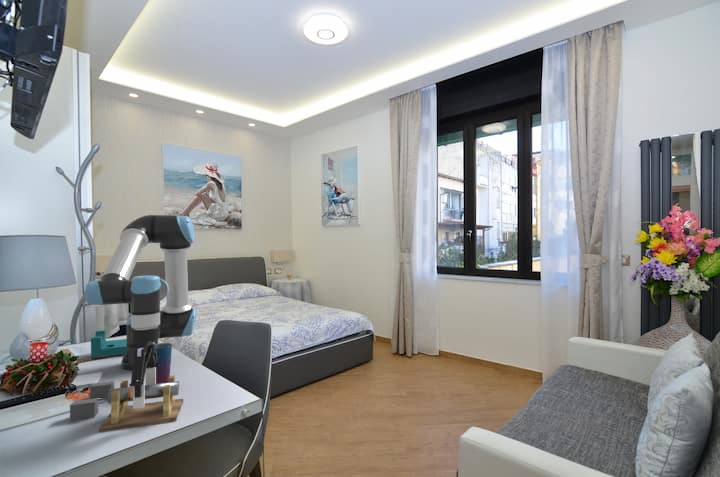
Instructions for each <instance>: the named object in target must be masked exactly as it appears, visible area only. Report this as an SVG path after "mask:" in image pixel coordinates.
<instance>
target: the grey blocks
mask: <svg viewBox="0 0 720 477" xmlns="http://www.w3.org/2000/svg"><path fill="white" fill-rule="evenodd" d="M110 389H115V380H111V381H101V382H100V381H99V382H98V383H93V384H92V385H91V386H90V387H89V398H88V399H87V398H86V399H80V400H74V401H73V402H72V403H71V404H70V405H69V421H70V422H71V421H78V420H84V419H93V418H95V417H96V416H97V415H98V414H99V399H98V398H105V399H107V397H108V392H109V390H110Z"/></svg>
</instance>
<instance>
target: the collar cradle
mask: <svg viewBox="0 0 720 477" xmlns="http://www.w3.org/2000/svg"><path fill="white" fill-rule="evenodd" d="M168 382H176V375H175V374H174V375H170V376H169V378H168ZM124 387H129V380H122V381H121V382H120V383H119V388H124ZM183 404H184V398H178V399H176V395H175V396H170V384H168V385H164V387H163V397H162V400H161V401H154V402H147V403H146V402H145V406H144V408H136V409H133V404H131V405H129V401H127V402H120V390H116V391H113V392H112V393H111V406H110V414H109V415H108V416H107V418H106V419H105V420H104V421H103V423H102V424H101V425H100V427H99V428H98V430H99V431H98V432H99V433H100V432H102V433H103V432H108V431H115V430H121V429H122V430H123V429H128V428H135V427H136V428H137V427H142V426H143V427H144V426H148V425H149V426H150V425H157V424H163V423H169V422H170V423H171V422H176V421H177V420H178V417H179V415H180V412H181V409H182V406H183Z"/></svg>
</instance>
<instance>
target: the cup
mask: <svg viewBox="0 0 720 477" xmlns="http://www.w3.org/2000/svg"><path fill="white" fill-rule="evenodd" d="M172 349H173V343H171V342H158V344H156V352H157V360H158V362H157V363H159V366H157V367H156V384H159V383H167V382H168V378H169V376H171V364H172V363H171V362H172V352H173V351H172Z"/></svg>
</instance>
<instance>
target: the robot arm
mask: <svg viewBox="0 0 720 477" xmlns="http://www.w3.org/2000/svg"><path fill="white" fill-rule="evenodd" d="M195 237H196V236H195V228H194V224H193V221H192V218H191V217H189V215H188V216H187V215H179V214H174V215H173V214H167V215H166V214H165V215H164V214H160V215H159V214H147V215H143V216H140V217H138V218H136V219H134V220H133V221H131V222H129V224H127V225H126V226H125V227H124V228H123V230H122V231H121V233H120V235H119V241H120V242H119V244H118V245H117V247H116V248H115V251H114V253H113V254H112V257H111V259H110V261H109V263H108V264H107V266H106V269H105V270H104V272H103V274H102V276H101V277H100V279H99V280H93V281H92V280H91V281H89V282H88V283H87V284H86V285H85V287H84V288H85V289H84V300H85V302H86V303H87V304H88V305H91V306H93V305H94V306H97V305H98V306H106V305H121V304H123V305H124V304H131V305H130V310H131V311H130V312H129V313H128V315H127V317H126V324H125V325H126V339H127V346H126V351H125V353H124V354H123V356H122V359H121V364H120V365H121V366H120V367H121V369H123V370H130V371H132V372H131V378H130V379H131V380H130V383H128V387H132V386H133V401H132V405H133V409H136V408H144V406H145V403H146V401H145V400H146V399H145V385H150V384H156V367H157V366H159V363H157V362H158V360H157V352H156V344H159V339H165V338H167V339H168V338H169V339H170V338H183V337H189V336H191V335H192V334H193V333H194V331H195V330H194V329H195V326H196V325H195V324H196V318H197V309H195V308H193V304H192V303H191V302H189V279H188V278H189V274H188V250H189V249H190V248H192V247H191V245H192V244H194V242H195V240H196V239H195ZM148 244H159V249H161V250H162V251H163V252H164V256H163V257H164V276H165V278H164V279H162V278H161V277H160V276H158V275H154V274H153V275H152V274H151V275H137V276H134V277H132V278H131V276H132V273H133V271H134V269H135V266H136V264H137V262H138V260H139V257H140V255H141V252H142V251H143V249H144V248H146V247H147V246H148ZM130 278H131V279H130ZM164 299H166V300H165V302H166V304H165V305H164V306H163V307H162V310H160V309H161V301H162V300H164Z"/></svg>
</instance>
